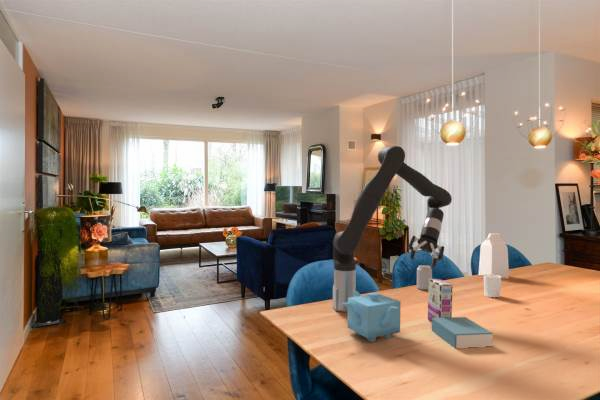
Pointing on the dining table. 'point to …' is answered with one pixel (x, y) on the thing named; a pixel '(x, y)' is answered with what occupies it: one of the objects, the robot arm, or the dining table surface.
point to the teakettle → (373, 315)
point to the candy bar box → (439, 299)
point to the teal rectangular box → (461, 332)
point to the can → (423, 276)
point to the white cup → (492, 285)
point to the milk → (494, 256)
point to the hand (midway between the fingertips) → (422, 263)
